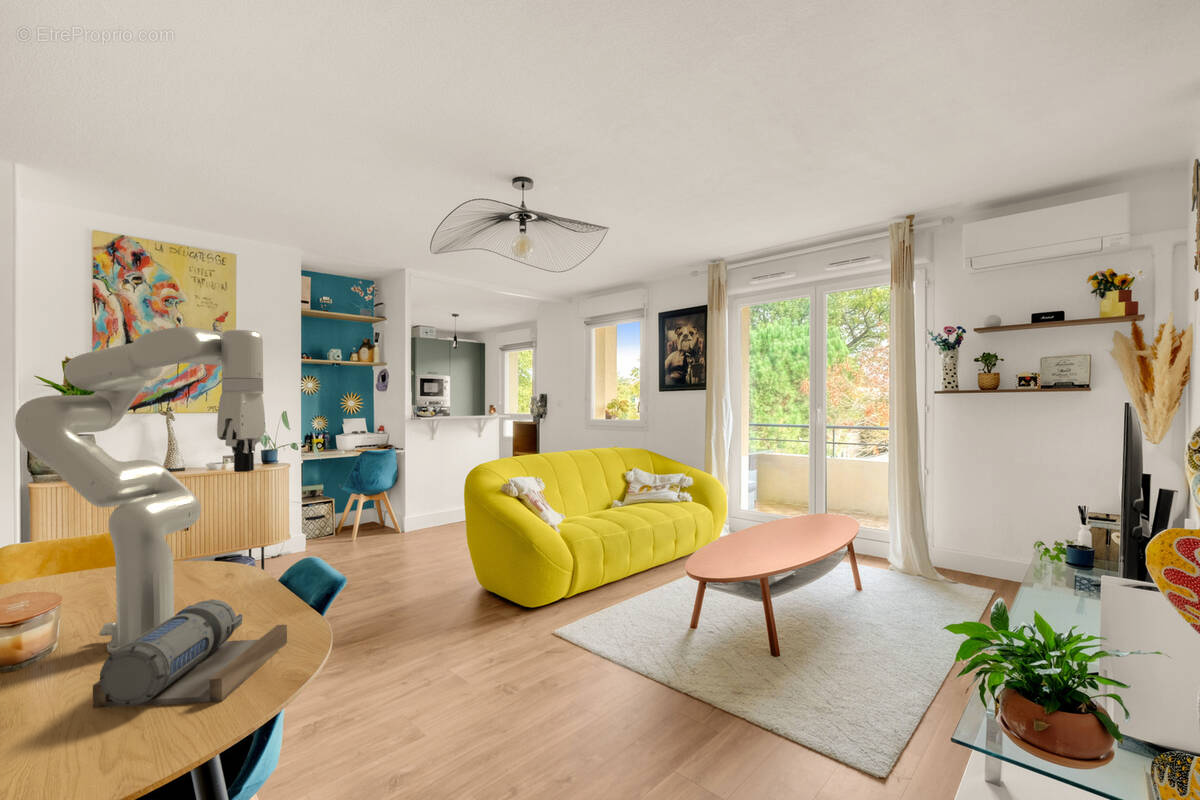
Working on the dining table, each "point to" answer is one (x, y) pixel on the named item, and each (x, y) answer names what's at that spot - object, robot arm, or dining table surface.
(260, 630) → the dining table surface
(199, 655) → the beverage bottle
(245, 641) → the u rest
